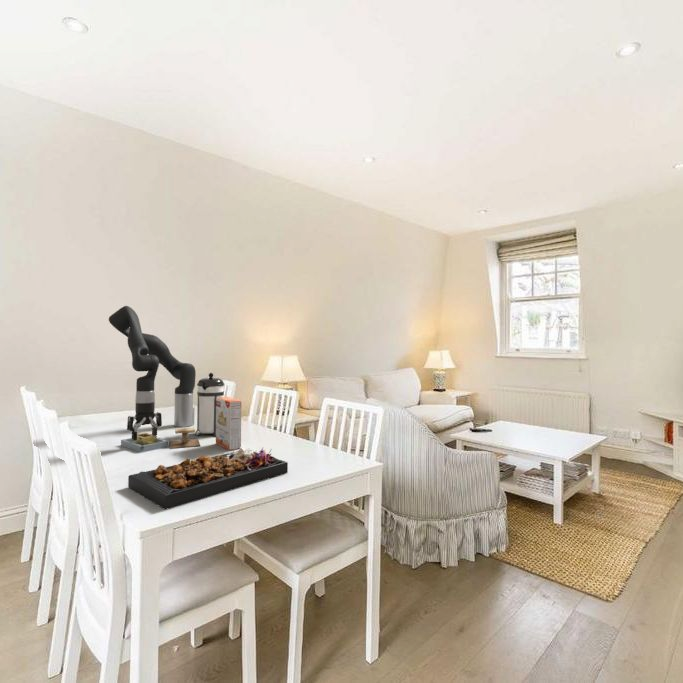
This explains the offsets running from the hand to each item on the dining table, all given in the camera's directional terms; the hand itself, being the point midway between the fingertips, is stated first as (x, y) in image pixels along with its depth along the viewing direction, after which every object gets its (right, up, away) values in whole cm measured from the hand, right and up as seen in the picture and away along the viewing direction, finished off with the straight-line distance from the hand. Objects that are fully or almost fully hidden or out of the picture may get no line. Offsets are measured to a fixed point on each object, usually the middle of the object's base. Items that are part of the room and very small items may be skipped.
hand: (144, 438), depth 184 cm
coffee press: (+20, -4, +26) cm, 33 cm away
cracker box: (+35, -4, +2) cm, 36 cm away
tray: (0, -3, 0) cm, 3 cm away
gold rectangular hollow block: (0, -3, 0) cm, 3 cm away
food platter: (+42, -5, -41) cm, 59 cm away
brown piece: (+16, -4, +4) cm, 17 cm away
